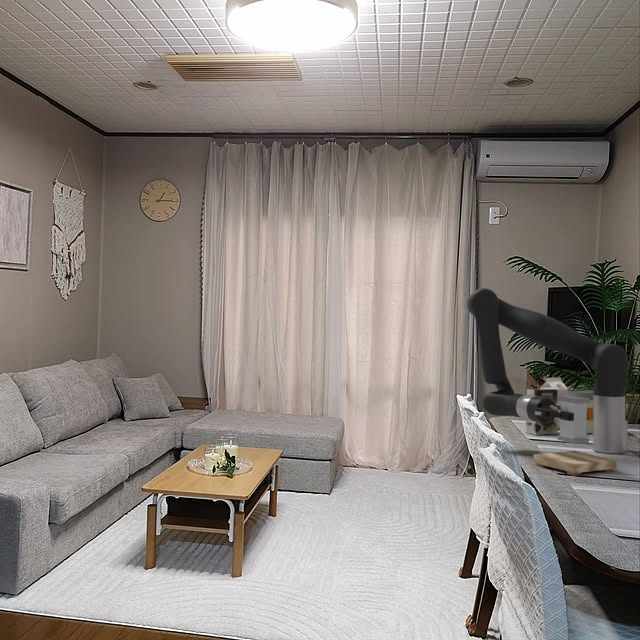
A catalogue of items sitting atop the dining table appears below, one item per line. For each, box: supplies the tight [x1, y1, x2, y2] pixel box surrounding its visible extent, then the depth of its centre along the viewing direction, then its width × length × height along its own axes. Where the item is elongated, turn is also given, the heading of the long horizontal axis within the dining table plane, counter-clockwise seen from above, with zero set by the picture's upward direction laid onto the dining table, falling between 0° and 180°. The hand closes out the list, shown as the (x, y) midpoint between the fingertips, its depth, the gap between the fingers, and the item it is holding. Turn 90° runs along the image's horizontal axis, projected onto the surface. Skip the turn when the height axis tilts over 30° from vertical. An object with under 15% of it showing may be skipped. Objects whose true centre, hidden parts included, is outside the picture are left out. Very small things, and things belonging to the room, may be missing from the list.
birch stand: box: [533, 450, 618, 477], centre depth 187 cm, size 15×15×3 cm
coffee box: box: [525, 388, 558, 436], centre depth 247 cm, size 9×6×16 cm
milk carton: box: [539, 377, 569, 430], centre depth 261 cm, size 7×7×19 cm
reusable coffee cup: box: [566, 388, 593, 433], centre depth 251 cm, size 13×13×15 cm
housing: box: [556, 396, 590, 445], centre depth 187 cm, size 4×7×12 cm, turn 24°
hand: (579, 416), depth 185 cm, fingers closed on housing, 4 cm apart
